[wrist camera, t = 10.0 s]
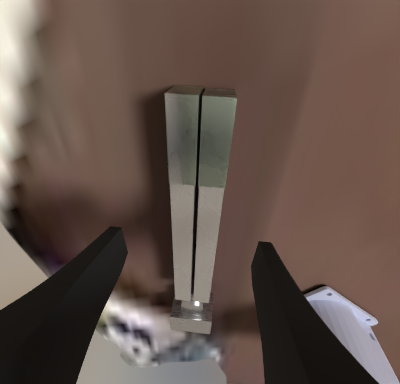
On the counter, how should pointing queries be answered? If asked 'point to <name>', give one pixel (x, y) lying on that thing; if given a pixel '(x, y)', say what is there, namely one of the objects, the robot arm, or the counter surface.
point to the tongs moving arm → (211, 187)
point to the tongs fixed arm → (185, 199)
